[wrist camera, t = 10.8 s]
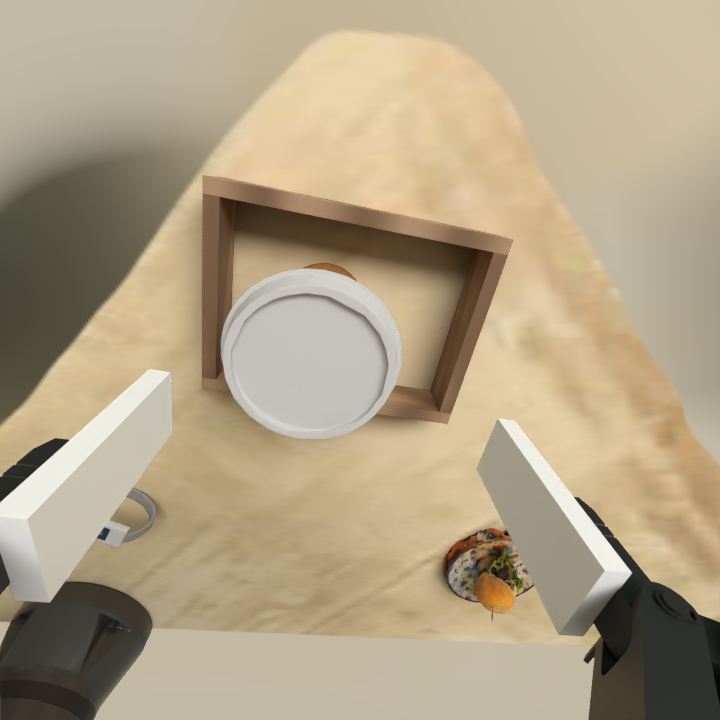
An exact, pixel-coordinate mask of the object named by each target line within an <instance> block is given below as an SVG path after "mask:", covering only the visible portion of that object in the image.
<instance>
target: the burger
mask: <svg viewBox="0 0 720 720" xmlns="http://www.w3.org/2000/svg"><path fill="white" fill-rule="evenodd" d="M446 556H447V554H446ZM443 570H444V573H445V576H446V577H447V582H448V585H449V587H450V589H451V590H452V591H453V593H454V594H456V595H457V596H458V597H461V598H464V599H465V600H468V601H471V602H479V603H481V604H482V605H483V606H484V607H485V608H486V609H488V610H490V611H492V619H493V612H495V613H500V614H504V613H508V612H509V611H511V609H512V608H513V607H514V603H515V597H516V596H518V595H520V594H522V593H524V592H526V591H528V590H529V589H530V588H532V587H533V586H534V584H533V582H532V580H531V578H530V576H529V574H528V572H527V570H526V568H525V566H524V564H523V562H522V560H521V558H520V556H519V554H518V552H517V550H516V548H515V546H514V544H513V542H512V539H511V537H510V535H509V536H506V535H504V534H503V533H502V532H500V531H498V530H496V529H493V528H492V529H491V528H489V529H486V531H479V532H478V534H477V535H475V536H471V538H470V539H469V540H466V541H465V542H464V541H463V540H460V541H459V542H458V543H456V544H454V546H453V548H452V551H451V553H449V552H448V556H447V558H446V557H445V559H444V562H443Z"/></svg>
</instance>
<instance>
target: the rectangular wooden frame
mask: <svg viewBox="0 0 720 720" xmlns="http://www.w3.org/2000/svg"><path fill="white" fill-rule="evenodd" d="M236 200H238V201H243V202H248V203H253V204H258V205H263V206H268V207H273V208H278V209H283V210H288V211H293V212H298V213H302V214H307V215H312V216H317V217H322V218H327V219H332V220H337V221H342V222H347V223H352V224H357V225H362V226H367V227H371V228H376V229H381V230H386V231H391V232H396V233H401V234H406V235H411V236H416V237H421V238H426V239H431V240H436V241H440V242H445V243H450V244H455V245H460V246H465V247H470V248H475V252H474V255H473V259H472V262H471V265H470V268H469V271H468V274H467V277H466V281H465V284H464V287H463V290H462V293H461V296H460V299H459V303H458V306H457V309H456V312H455V315H454V318H453V321H452V324H451V328H450V331H449V334H448V337H447V340H446V343H445V346H444V350H443V353H442V356H441V359H440V362H439V365H438V368H437V372H436V375H435V378H434V381H433V384H432V387H431V390H430V391H428V390H421V389H415V388H408V387H402V386H395V387H394V388H393V390H392V392H391V393H390V395H389V397H388V399H387V400H386V402H385V404H384V405H383V406H382V407H381V408H380V410H379V411H378V412H377V413H376V414H382V415H389V416H396V417H403V418H410V419H417V420H424V421H431V422H438V423H445V424H448V421H449V418H450V415H451V412H452V410H453V407H454V404H455V401H456V399H457V396H458V393H459V390H460V387H461V385H462V382H463V379H464V376H465V373H466V371H467V368H468V365H469V362H470V360H471V357H472V354H473V351H474V348H475V346H476V343H477V340H478V337H479V334H480V332H481V329H482V326H483V323H484V321H485V318H486V315H487V312H488V309H489V307H490V304H491V301H492V298H493V295H494V293H495V290H496V287H497V284H498V282H499V279H500V276H501V273H502V270H503V268H504V265H505V262H506V259H507V256H508V254H509V251H510V248H511V245H512V243H513V240H512V239H508V238H505V237H501V236H498V235H494V234H490V233H485V232H480V231H475V230H471V229H466V228H461V227H456V226H451V225H447V224H442V223H437V222H432V221H428V220H423V219H418V218H413V217H408V216H404V215H399V214H394V213H389V212H384V211H380V210H375V209H370V208H365V207H361V206H356V205H351V204H346V203H341V202H337V201H332V200H327V199H322V198H317V197H313V196H308V195H303V194H298V193H293V192H289V191H284V190H279V189H274V188H270V187H265V186H260V185H255V184H250V183H246V182H241V181H236V180H231V179H226V178H222V177H214V176H205V175H203V277H202V389H207V390H214V391H221V392H228V393H231V390H230V388H229V386H228V384H227V381H226V379H225V373H224V367H223V362H222V358H221V337H222V332H223V327H224V324H225V321H226V319H227V317H228V314H229V312H230V310H231V305H232V279H233V253H234V227H235V202H236Z"/></svg>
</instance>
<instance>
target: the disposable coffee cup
mask: <svg viewBox="0 0 720 720" xmlns="http://www.w3.org/2000/svg"><path fill="white" fill-rule="evenodd" d="M221 358H222V362H223V367H224V373H225V379H226V381H227V384H228V386H229V388H230V390H231V393H232V395H233V397H234V399H235V400H236V401H237V402H238V403H239V405H240V406H241V407H242V408H243V409H244V410H245V412H246V413H247V414H248V415H249V416H250V417H252V418H253V419H255V420H256V421H257V422H259V423H260V424H262V425H263V426H265V427H266V428H268V429H270V430H272V431H275V432H277V433H280V434H283V435H285V436H289V437H294V438H299V439H327V438H331V437H336V436H340V435H343V434H346V433H348V432H350V431H353V430H355V429H357V428H359V427H360V426H362V425H363V424H365V423H366V422H368V421H369V420H370V419H371V418H372V417H373V416H375V414H376V413H377V412H378V411H379V410H380V408H381V407H382V406H383V405H384V404H385V402H386V400H387V399H388V397H389V395H390V393H391V392H392V390H393V388H394V387H395V384H396V382H397V379H398V376H399V373H400V369H401V360H402V348H401V340H400V335H399V332H398V329H397V326H396V324H395V322H394V320H393V318H392V316H391V314H390V312H389V311H388V309H387V308H386V306H385V305H384V304H383V303H382V302H381V301H380V299H379V298H378V297H377V296H376V295H375V294H374V293H372V292H371V291H370V290H369V289H368V288H366V287H365V286H363V285H362V284H360V283H358V282H357V281H356V279H355V278H354V277H353V276H352V275H351V274H350V273H349V272H347V271H346V270H345V269H343V268H341V267H339V266H336V265H333V264H328V263H318V264H312V265H310V266H307V267H305V268H303V269H295V270H287V271H284V272H280V273H277V274H274V275H271V276H269V277H267V278H265V279H263V280H262V281H260V282H258V283H257V284H255V285H253V286H252V287H251V288H249V289H248V290H247V291H246V292H245V293H244V294H243V295H242V296H241V297H240V298H239V299H238V300H237V302H236V303H235V305H234V306H233V308H232V309H231V310H230V312H229V314H228V317H227V319H226V321H225V324H224V327H223V332H222V337H221Z"/></svg>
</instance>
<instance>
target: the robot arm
mask: <svg viewBox="0 0 720 720" xmlns="http://www.w3.org/2000/svg"><path fill="white" fill-rule="evenodd" d="M172 432H173V424H172V394H171V372H166V371H158V370H151V369H149V370H148V371H147V372H146V373H144V374H143V375H142V376H141V377H140V378H139V379H138V380H137V381H135V382H134V383H133V384H132V385H131V386H130V387H129V388H128V389H127V390H125V391H124V392H123V393H122V394H121V395H120V396H119V397H118V398H116V399H115V400H114V401H113V402H112V403H111V404H110V405H109V406H108V407H106V408H105V409H104V410H103V411H102V412H101V413H100V414H99V415H97V416H96V417H95V418H94V419H93V420H92V421H91V422H90V423H88V424H87V425H86V426H85V427H84V428H83V429H82V430H81V431H80V432H78V433H77V434H76V435H75V436H74V437H73V438H72V439H71V440H66V439H58V438H55V439H53V440H51V441H49V442H47V443H45V444H43V445H41V446H38V447H36V448H34V449H33V450H32V451H30V452H29V453H28V454H27V455H25V456H24V457H23V458H22V459H21V460H19V461H18V462H17V464H16V465H13V466H12V467H11V468H10V469H8V470H7V471H6V472H5V473H3V476H2V477H0V594H1V593H2V592H3V591H4V590H5V588H6V587H7V586H8V585H9V586H10V589H11V592H12V595H13V598H14V600H17V601H25V603H24V604H23V605H22V606H21V608H20V609H19V610H18V611H17V613H16V614H15V616H14V617H13V619H12V621H11V623H10V626H9V628H8V630H7V632H6V634H5V637H4V639H3V641H2V644H1V646H0V720H94V718H95V716H96V714H97V712H98V710H99V708H100V706H101V705H102V704H103V702H104V701H105V700H106V698H107V697H108V696H109V695H110V693H111V692H112V691H113V689H114V688H115V686H116V685H117V684H118V683H119V682H120V680H121V679H122V678H123V676H124V675H125V674H126V672H127V671H128V670H129V668H130V667H131V666H132V665H133V663H134V662H135V661H136V659H137V658H138V657H139V655H140V654H141V652H142V650H143V648H144V646H145V644H146V642H147V639H148V637H149V635H150V633H151V629H152V622H151V619H150V616H149V615H148V613H147V612H146V610H145V609H144V608H143V607H142V606H141V605H140V604H139V603H137V602H136V601H135V600H133V599H132V598H130V597H128V596H126V595H125V594H123V593H120V592H118V591H116V590H113V589H110V588H107V587H103V586H99V585H94V584H88V583H77V582H69V583H64V582H65V581H66V580H67V578H68V577H69V575H70V574H71V573H72V571H73V570H74V568H75V567H76V566H77V564H78V563H79V562H80V560H81V559H82V557H83V556H84V555H85V553H86V552H87V550H88V549H89V548H90V546H91V545H92V543H93V542H94V541H95V539H96V538H97V537H98V535H99V534H100V532H101V531H102V530H103V528H104V527H105V525H106V524H107V523H108V521H109V520H110V518H111V517H112V516H113V514H114V513H115V512H116V510H117V509H118V507H119V506H120V505H121V503H122V502H123V500H124V499H125V498H126V496H127V495H128V493H129V492H130V491H131V489H132V488H133V487H134V485H135V484H136V482H137V481H138V480H139V478H140V477H141V475H142V474H143V473H144V471H145V470H146V468H147V467H148V466H149V464H150V463H151V462H152V460H153V459H154V457H155V456H156V455H157V453H158V452H159V450H160V449H161V448H162V446H163V445H164V443H165V442H166V441H167V439H168V438H169V437H170V435H171V434H172ZM477 471H478V473H479V475H480V477H481V479H482V481H483V483H484V485H485V487H486V489H487V491H488V493H489V495H490V497H491V499H492V501H493V503H494V505H495V507H496V509H497V511H498V513H499V515H500V517H501V519H502V521H503V523H504V525H505V527H506V529H507V531H508V533H509V535H510V537H511V539H512V542H513V544H514V546H515V548H516V550H517V552H518V554H519V556H520V558H521V560H522V562H523V564H524V566H525V568H526V570H527V572H528V574H529V576H530V578H531V580H532V582H533V584H534V586H535V588H536V590H537V592H538V594H539V596H540V598H541V600H542V602H543V604H544V606H545V608H546V610H547V612H548V614H549V616H550V618H551V620H552V622H553V624H554V626H555V628H556V630H557V632H558V634H559V635H571V636H584V635H585V633H586V632H587V631H588V630H589V628H590V627H591V626H592V624H593V623H594V624H595V626H596V628H597V630H598V631H599V633H600V635H601V637H600V638H599V639H598V641H597V642H596V643H595V644H594V645H593V647H592V648H591V649H590V650H589V652H588V653H587V654H586V656H585V658H584V661H585V662H586V663H589V661H590V660H591V659H592V658H595V660H594V670H593V679H592V690H591V701H590V710H589V720H720V622H717V621H715V620H712V619H709V618H707V617H704V616H701V615H699V614H698V613H697V612H696V611H695V609H694V608H693V607H692V606H691V605H690V604H689V603H688V602H687V601H686V600H685V599H684V598H683V597H682V596H680V595H679V594H677V593H676V592H674V591H673V590H671V589H670V588H668V587H666V586H664V585H662V584H659V583H655V582H651V581H650V580H649V578H648V577H647V576H646V575H645V573H644V572H643V571H642V570H641V569H640V567H639V566H638V565H637V564H636V562H635V561H634V560H633V559H632V557H631V556H630V555H629V554H628V552H627V551H626V550H625V549H624V547H623V546H622V545H621V544H620V542H619V541H618V540H617V539H616V538H614V535H613V534H612V532H611V531H610V530H609V529H608V527H605V524H604V522H603V521H602V520H601V519H600V517H599V516H598V515H597V514H596V512H595V511H594V510H593V509H592V508H590V507H589V506H588V505H587V504H586V503H584V502H583V501H582V500H581V499H580V498H578V497H573V496H572V494H571V493H570V492H569V491H568V489H567V488H566V487H565V485H564V484H563V483H562V481H561V480H560V479H559V478H558V476H557V475H556V474H555V472H554V471H553V470H552V469H551V467H550V466H549V465H548V463H547V462H546V461H545V459H544V458H543V457H542V456H541V454H540V453H539V452H538V450H537V449H536V448H535V446H534V445H533V444H532V443H531V441H530V440H529V439H528V437H527V436H526V435H525V434H524V432H523V431H522V430H521V428H520V427H519V426H518V424H517V423H516V422H515V421H512V420H505V419H497V421H496V424H495V426H494V429H493V431H492V433H491V436H490V438H489V441H488V443H487V445H486V448H485V450H484V452H483V455H482V457H481V460H480V462H479V464H478V467H477Z"/></svg>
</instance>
